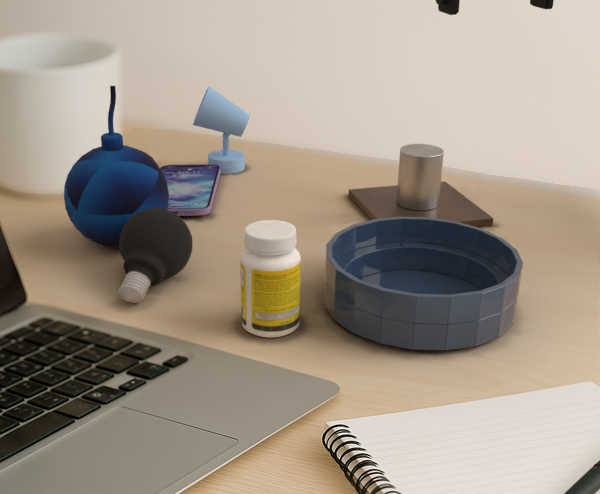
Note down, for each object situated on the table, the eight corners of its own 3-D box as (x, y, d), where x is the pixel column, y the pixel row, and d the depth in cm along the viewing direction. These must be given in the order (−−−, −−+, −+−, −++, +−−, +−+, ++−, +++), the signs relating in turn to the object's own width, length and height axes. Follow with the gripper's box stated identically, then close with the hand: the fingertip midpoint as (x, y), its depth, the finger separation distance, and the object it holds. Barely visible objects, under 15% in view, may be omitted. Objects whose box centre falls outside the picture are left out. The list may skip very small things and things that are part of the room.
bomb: (182, 222, 86) (174, 77, 80) (159, 266, 77) (148, 105, 70) (90, 219, 87) (74, 74, 80) (56, 262, 77) (35, 101, 70)
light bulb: (89, 265, 67) (134, 185, 73) (93, 313, 72) (135, 234, 78) (165, 286, 67) (203, 204, 73) (164, 333, 71) (200, 252, 78)
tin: (428, 194, 93) (432, 142, 90) (445, 208, 89) (451, 154, 86) (389, 197, 92) (393, 145, 89) (405, 212, 88) (410, 157, 85)
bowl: (461, 258, 80) (467, 210, 77) (550, 340, 66) (561, 283, 64) (302, 276, 75) (303, 225, 73) (361, 367, 62) (365, 308, 60)
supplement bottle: (311, 325, 67) (314, 230, 63) (268, 345, 64) (268, 246, 61) (272, 305, 70) (272, 212, 66) (229, 323, 67) (226, 227, 64)
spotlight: (193, 174, 100) (250, 174, 100) (189, 92, 95) (249, 92, 96) (196, 161, 105) (251, 161, 105) (192, 81, 100) (249, 81, 100)
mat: (444, 187, 97) (445, 181, 97) (492, 225, 87) (493, 218, 87) (348, 195, 94) (348, 189, 94) (386, 236, 84) (387, 228, 84)
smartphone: (139, 209, 87) (160, 164, 100) (140, 218, 87) (161, 171, 101) (209, 209, 87) (221, 163, 100) (210, 217, 87) (222, 171, 101)
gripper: (579, -197, 76) (555, 0, 84) (402, -198, 72) (395, 9, 80) (629, -204, 69) (598, 10, 77) (438, -205, 65) (425, 21, 73)
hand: (495, 10), depth 78 cm, fingers open, 9 cm apart
